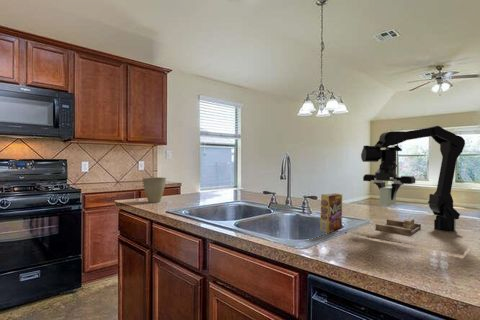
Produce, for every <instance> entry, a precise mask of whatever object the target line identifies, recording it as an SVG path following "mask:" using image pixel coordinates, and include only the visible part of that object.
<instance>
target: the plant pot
mask: <svg viewBox="0 0 480 320" xmlns="http://www.w3.org/2000/svg"><path fill="white" fill-rule="evenodd" d="M166 178H167V177H158V176H157V177H142V184H143V188H144V193H145V196H146V198H147V199H146V200H147V202H148V203H152V204H154V203H156V202H157V203H160V202H161V200H162V198H163V196H164V195H163V194H164V191H165V186H166V182H167V181H166V180H167V179H166Z"/></svg>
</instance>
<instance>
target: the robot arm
mask: <svg viewBox="0 0 480 320" xmlns="http://www.w3.org/2000/svg"><path fill="white" fill-rule="evenodd" d="M428 137H431V138H432V140H434V141H435V143H437V144H439V152H440V153H441V165H440V168H439V169H440V170H439V175H438V180H437V187H436V191H435V192H434V193H429V196H428V197H429V199H428V201H427V204H428V207H429V209H430V210H431V211H432V213H433V215H434V216H435V219H434V220H433V223H434V224H433V230H437V231H442V232H450V233H451V232H455V231H456V225H457V224H456V222H457V220H459V219H460V216H461V214H460V212H458V211H457V210H456V209H455V208H454V200H453V197H452V193H451V192H452V186H453V183H454V182H453V181H454V177H455V171H456V165H457V160H458V157H459V156H460V155H461V154H462V152H463V151H464V148H465V146H466V141H465V139H464V137H463V136H461V135H457V134H456V133H454V132H451V131H449V130H447V129H445V128H443V127H442V126H439V125H435V126H429V127H426V128H419V129H414V130H407V131H400V130H399V131H397V130H396V131H395V130H394V131H393V130H390V131H386V132H382V133H381V134H380V136H379V140H378V141H377V142H376V143H375V145H363V148H362V151H361V153H360V158H361V162H365V163H366V162H367V163H370V162H371V163H378V162H379V161H380V164H379V168H378V169H377V170H376V171H375V172H374V173H367V174H363V177H362V181H363V182H372V181H373V182H372V184H375V185H376V186H377V188H378V190H379V191H380V188H383V187H386V182H393V183H391V187H392V193H391V200H393V199H394V197H395V195H396V196H397V192H398V191H399V190H400V188H401V186H403V185H404V184H406V185H413V184H416V177H415V176H413V175H401V176H398V174H397V168H398V164H397V152H402V151H403V148H401V147H400V146H399V145H398V144H401V143H403V142H404V143H405V142H406V141H410V140H416V139H422V138H428Z"/></svg>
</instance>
